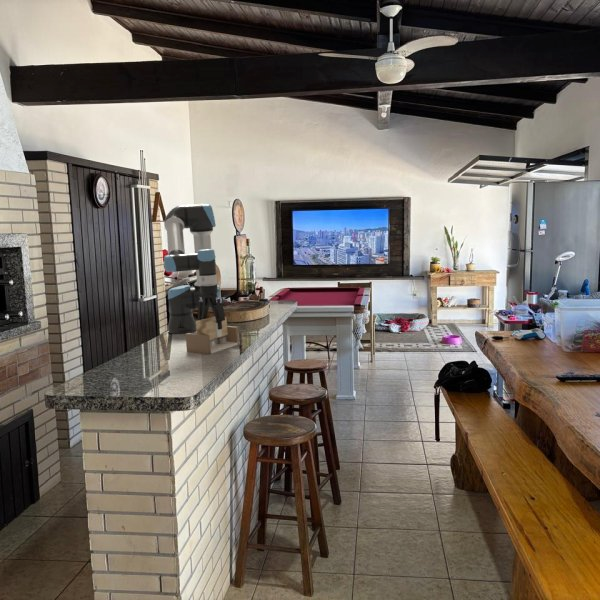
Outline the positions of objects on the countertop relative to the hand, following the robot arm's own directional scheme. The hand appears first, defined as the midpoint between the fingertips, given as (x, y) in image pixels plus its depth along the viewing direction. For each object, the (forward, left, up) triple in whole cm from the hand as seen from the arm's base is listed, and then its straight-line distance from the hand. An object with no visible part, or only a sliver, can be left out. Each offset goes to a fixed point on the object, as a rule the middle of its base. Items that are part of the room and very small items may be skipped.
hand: (212, 335), depth 252 cm
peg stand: (0, 0, -5) cm, 5 cm away
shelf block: (0, 0, 0) cm, 0 cm away
